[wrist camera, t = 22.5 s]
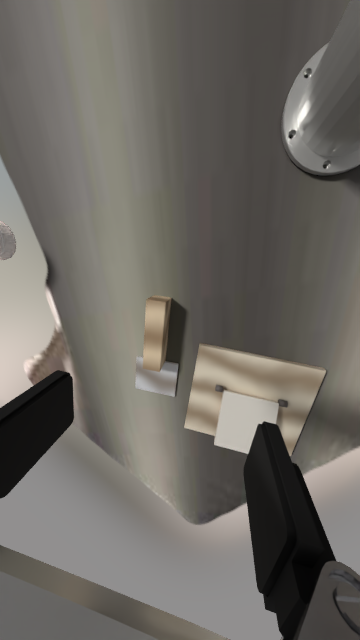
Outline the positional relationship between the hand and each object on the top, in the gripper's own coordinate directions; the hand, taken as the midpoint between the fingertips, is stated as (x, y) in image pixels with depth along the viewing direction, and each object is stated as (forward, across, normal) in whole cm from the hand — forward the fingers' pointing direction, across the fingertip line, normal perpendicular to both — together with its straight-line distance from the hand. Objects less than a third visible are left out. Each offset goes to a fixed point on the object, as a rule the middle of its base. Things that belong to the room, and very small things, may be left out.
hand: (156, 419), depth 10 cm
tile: (+20, -11, +17) cm, 29 cm away
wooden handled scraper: (+24, +6, +9) cm, 27 cm away
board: (+24, -11, +15) cm, 31 cm away
